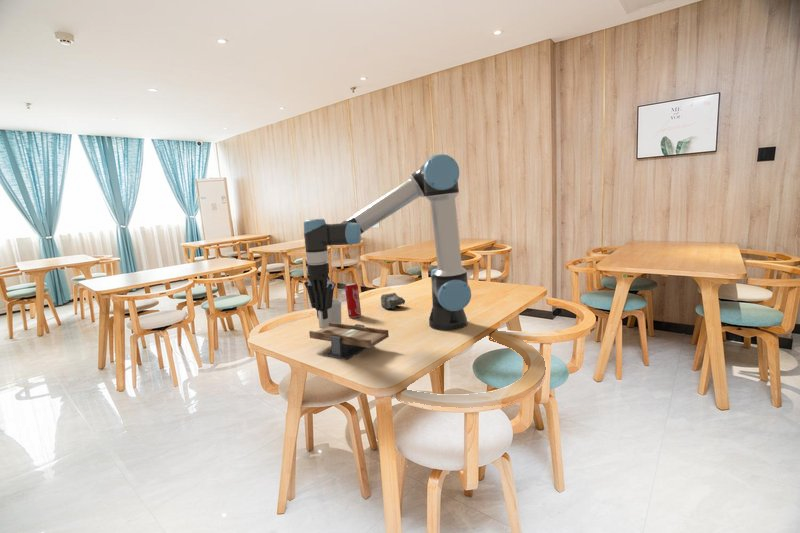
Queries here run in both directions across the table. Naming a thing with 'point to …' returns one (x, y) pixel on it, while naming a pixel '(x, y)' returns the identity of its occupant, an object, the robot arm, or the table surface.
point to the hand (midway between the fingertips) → (323, 327)
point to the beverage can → (353, 300)
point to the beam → (351, 334)
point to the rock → (391, 301)
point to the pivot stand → (343, 348)
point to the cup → (334, 312)
